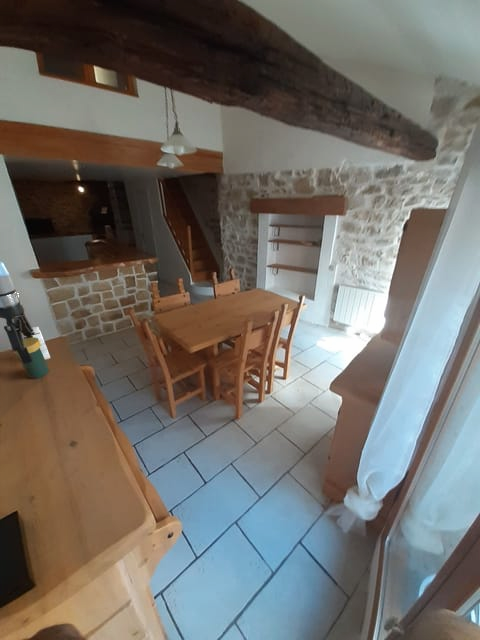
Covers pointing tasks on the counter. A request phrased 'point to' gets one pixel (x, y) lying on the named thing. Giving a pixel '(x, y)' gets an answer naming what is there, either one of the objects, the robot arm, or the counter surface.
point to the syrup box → (41, 342)
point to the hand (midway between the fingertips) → (31, 356)
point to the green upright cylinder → (36, 365)
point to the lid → (30, 344)
